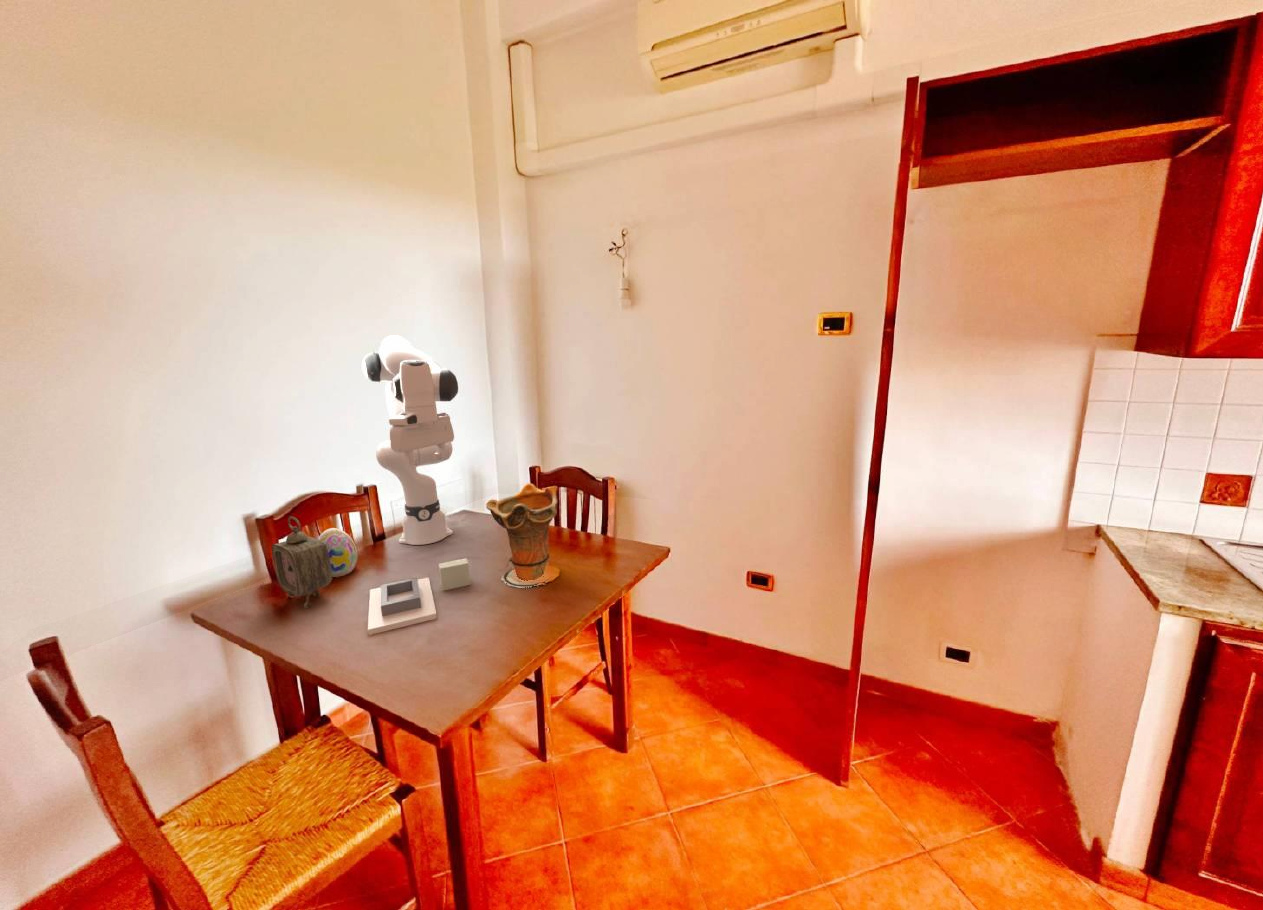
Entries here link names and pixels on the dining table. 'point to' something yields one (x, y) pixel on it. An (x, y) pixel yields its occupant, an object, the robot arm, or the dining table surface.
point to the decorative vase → (526, 530)
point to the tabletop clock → (301, 564)
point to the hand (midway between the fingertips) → (427, 461)
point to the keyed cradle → (400, 605)
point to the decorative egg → (339, 551)
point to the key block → (454, 574)
